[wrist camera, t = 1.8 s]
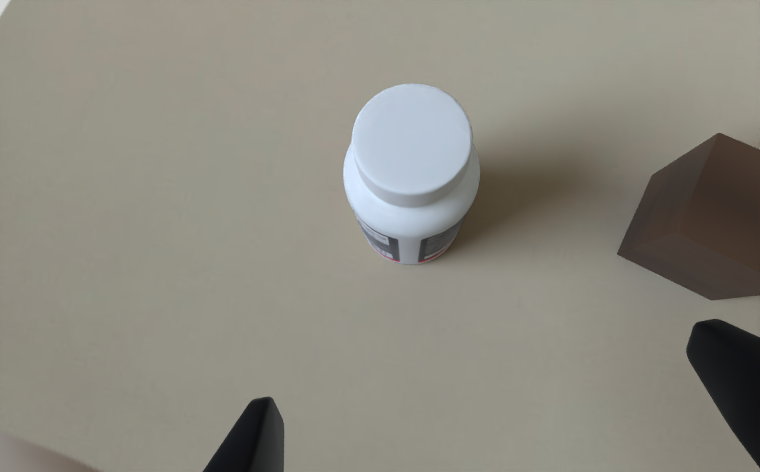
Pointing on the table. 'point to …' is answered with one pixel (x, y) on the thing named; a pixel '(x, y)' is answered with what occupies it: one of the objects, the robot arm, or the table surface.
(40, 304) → the table surface
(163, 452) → the table surface
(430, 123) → the pill bottle
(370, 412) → the table surface
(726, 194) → the walnut block
